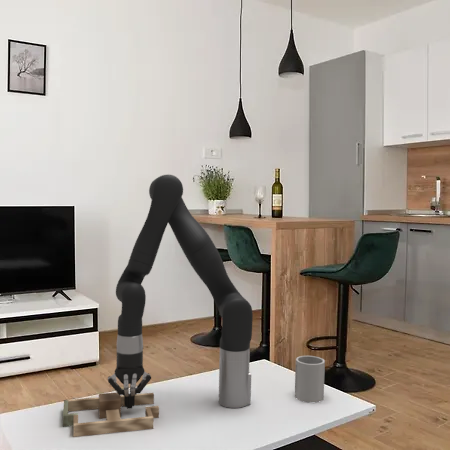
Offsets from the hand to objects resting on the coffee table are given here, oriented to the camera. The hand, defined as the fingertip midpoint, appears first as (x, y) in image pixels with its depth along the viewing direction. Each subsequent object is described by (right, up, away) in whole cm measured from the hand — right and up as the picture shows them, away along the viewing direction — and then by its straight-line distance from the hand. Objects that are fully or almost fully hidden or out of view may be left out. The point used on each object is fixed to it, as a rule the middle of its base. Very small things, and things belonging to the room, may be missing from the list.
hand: (129, 407), depth 153 cm
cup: (+55, -2, +15) cm, 57 cm away
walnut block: (-5, -1, -1) cm, 6 cm away
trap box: (-4, -2, -5) cm, 6 cm away
